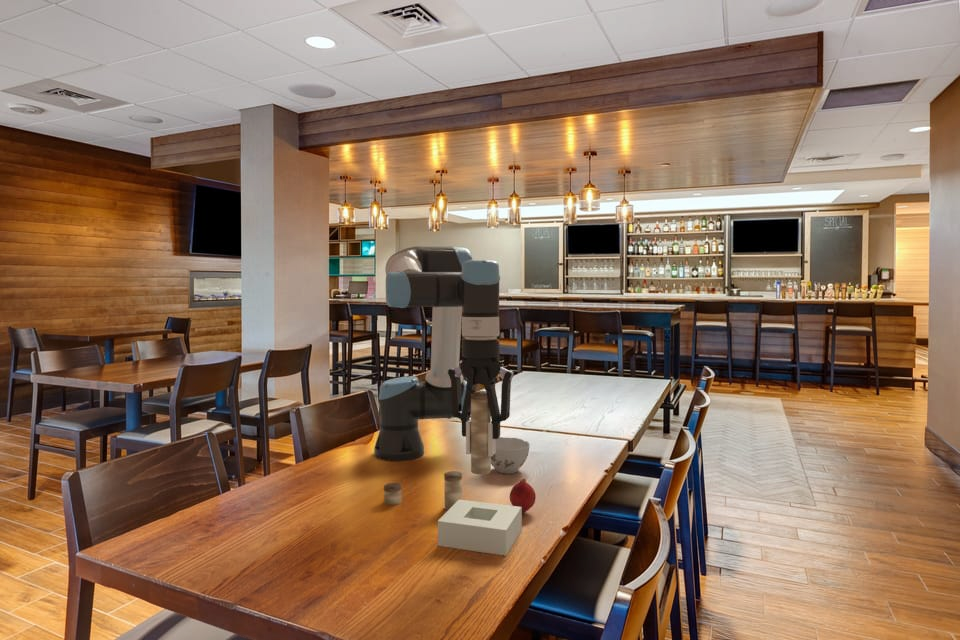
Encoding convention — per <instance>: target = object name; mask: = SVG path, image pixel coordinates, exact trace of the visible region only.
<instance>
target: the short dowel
mask: <svg viewBox="0 0 960 640" xmlns="http://www.w3.org/2000/svg"><path fill="white" fill-rule="evenodd" d="M383 490H384V491H383V500H384V501H383V502H384V504H385V505H386V504H387V506H397V504H398V505H400V504H401V503H402V484H401V483H398V482H390V483H389V482H388V483H385V484H384V485H383Z"/></svg>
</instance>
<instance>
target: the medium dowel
mask: <svg viewBox="0 0 960 640" xmlns="http://www.w3.org/2000/svg"><path fill="white" fill-rule="evenodd" d="M462 475H463V473H462V472H461V471H457V470H455V471H453V470H451V471H450V470H449V471H447V472H444V474H443V479H444V481H443V484H444V510H445V511H446V512H447V511H448V510H449V509H450V508H451V507H452V506H453V505H454V504H455V503H456V502H457V501H458V500H459V499H460V500H463V484H462V483H463V482H462V481H463V476H462Z"/></svg>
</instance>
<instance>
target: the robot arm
mask: <svg viewBox="0 0 960 640" xmlns="http://www.w3.org/2000/svg"><path fill="white" fill-rule="evenodd" d="M500 281H501V276H500V264H499V263H498V262H497V261H496V260H490V259H483V260H482V259H474V260H473V257H472V253H471V251H470V250H469V249H468V248H467V247H460V246H459V247H458V246H454V245H452V246H421V245H420V246H412V247H407V248H404V249H401V250H398V251H396V252H395V253H393V254H392V255H390V257H389V258H388V259H387V261H386V264H385V303H386V305H387V306H388V307H389V308H400V309H405V308H432V314H431V315H432V317H431V318H432V319H431V349H430V350H431V351H430V371H429V372H427V373H426V374H425V377H424V378H425V379H424V381H422V380H421V381H419V379H418V377H417V376H412V375H411V376H401V377H395V378H390V379H388V380H385V381H383V382H381V384H380V386H379V395H378V400H379V432H378V436H377V438H376V441H375V445H374V449H373V450H374V451H373V454H374V457H375V458H377V459H379V460H383V461H389V462H399V461H400V462H403V461H410V460H414V459H418V458H420V457H422V456H423V455H424V454H425V445H424V442H423V439H422V436H421V432H420V430H419V420H433V419H434V420H436V419H449V420H450V419H454V418H457V419H459V421H461V436H462V437H464V438H465V454H466V455H471V393H473V392H475V391H477V390H476V389H477V387H478V385H482V386H484V388H483V389H484V391H486V394H487V399H488V404H489V409H490V414H491V422H490V423H488V456H493V455H494V454H495V453H496V439H498V438H499V437H501V422H505V421H506V420H508V419H509V418H510V412H511V411H510V410H511V393H512V392H511V389H512V385H511V384H512V380H513V377H514V376H515V371H514V370H513V369H510V370H509V369H507V368H505V367H503V365H502V363H501V360H500V340H499V338H497V337H499V336H500ZM461 335H462V336H463V339H462V341H461ZM460 354H461V356H460ZM460 357H461V358H462V359H461V361H460ZM499 374H500V379H501V380H502V381H501V396H500V398H501V399H500V407H499V401H498V396H497V391H496V382H495V379H496V378H497V376H498V375H499ZM463 375H464V376H463ZM464 377H465V378H466V379H467V380H465V379H464Z"/></svg>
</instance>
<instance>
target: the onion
mask: <svg viewBox="0 0 960 640" xmlns="http://www.w3.org/2000/svg"><path fill="white" fill-rule="evenodd" d="M536 496H537V495H536V492H535V489H534V487H532V486H531V485H530V484H529V483H528V482H527V479H526V478H525V477H522V478H521V479H520V480H519V482H517V483H516V484H514V485H513V487H512V488H511V490H510V492H509V501H510V503H511V506H518V507H522V514H525V513H526V512H527V511H529V510H530V509H531V508H532V507H533V506H534V505H535V503H536Z"/></svg>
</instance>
